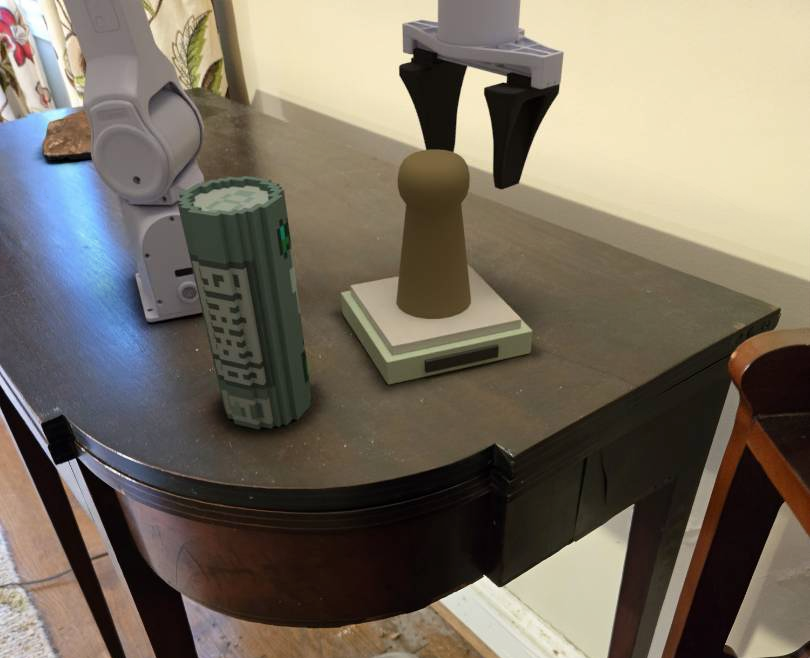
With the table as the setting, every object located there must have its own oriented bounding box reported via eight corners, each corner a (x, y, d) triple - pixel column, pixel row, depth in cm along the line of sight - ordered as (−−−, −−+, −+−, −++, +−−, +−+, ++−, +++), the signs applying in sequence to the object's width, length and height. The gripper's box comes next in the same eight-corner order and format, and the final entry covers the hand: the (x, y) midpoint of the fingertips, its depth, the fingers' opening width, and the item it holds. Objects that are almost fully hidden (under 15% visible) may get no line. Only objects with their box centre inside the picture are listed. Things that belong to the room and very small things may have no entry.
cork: (465, 321, 59) (470, 171, 51) (388, 315, 60) (382, 167, 52) (476, 285, 63) (482, 142, 56) (404, 280, 64) (400, 138, 57)
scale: (532, 355, 61) (535, 323, 59) (389, 387, 58) (387, 354, 56) (470, 288, 69) (471, 258, 67) (342, 313, 66) (339, 283, 64)
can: (324, 390, 58) (299, 183, 47) (283, 436, 54) (247, 220, 43) (254, 374, 60) (216, 172, 49) (210, 417, 56) (158, 206, 45)
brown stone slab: (38, 139, 103) (28, 109, 100) (134, 125, 106) (127, 96, 103) (46, 166, 95) (35, 134, 92) (149, 149, 98) (142, 119, 96)
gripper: (604, -37, 49) (576, 183, 59) (451, -58, 57) (448, 139, 67) (527, -22, 46) (511, 208, 56) (377, -46, 54) (385, 158, 64)
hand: (472, 172), depth 61 cm, fingers open, 7 cm apart
